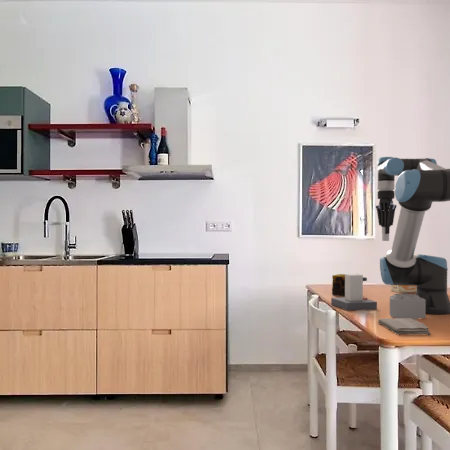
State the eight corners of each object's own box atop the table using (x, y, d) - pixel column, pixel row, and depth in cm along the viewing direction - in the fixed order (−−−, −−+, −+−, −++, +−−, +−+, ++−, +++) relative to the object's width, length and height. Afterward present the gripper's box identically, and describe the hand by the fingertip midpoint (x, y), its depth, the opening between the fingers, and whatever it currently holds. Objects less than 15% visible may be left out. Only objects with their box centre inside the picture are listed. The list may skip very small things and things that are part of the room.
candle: (350, 296, 225) (350, 276, 225) (331, 294, 231) (331, 275, 231) (358, 294, 233) (358, 275, 233) (339, 292, 239) (339, 273, 239)
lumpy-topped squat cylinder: (389, 312, 184) (389, 291, 184) (423, 315, 181) (423, 293, 181) (390, 318, 175) (390, 295, 175) (427, 320, 171) (427, 297, 171)
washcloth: (397, 336, 147) (397, 327, 147) (376, 324, 165) (376, 316, 165) (433, 336, 148) (433, 327, 148) (408, 324, 166) (408, 315, 166)
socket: (376, 308, 192) (376, 300, 192) (347, 310, 189) (347, 301, 189) (359, 303, 206) (359, 294, 206) (331, 304, 202) (331, 296, 202)
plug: (362, 304, 201) (363, 273, 201) (368, 306, 197) (368, 274, 197) (344, 305, 199) (345, 274, 199) (350, 306, 195) (350, 275, 194)
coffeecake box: (398, 292, 238) (398, 256, 238) (390, 291, 245) (390, 255, 245) (422, 291, 242) (422, 255, 242) (413, 290, 249) (413, 254, 249)
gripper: (401, 189, 206) (401, 241, 206) (384, 191, 219) (384, 240, 219) (387, 189, 204) (387, 241, 204) (371, 191, 217) (370, 240, 217)
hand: (385, 240), depth 212 cm, fingers closed
